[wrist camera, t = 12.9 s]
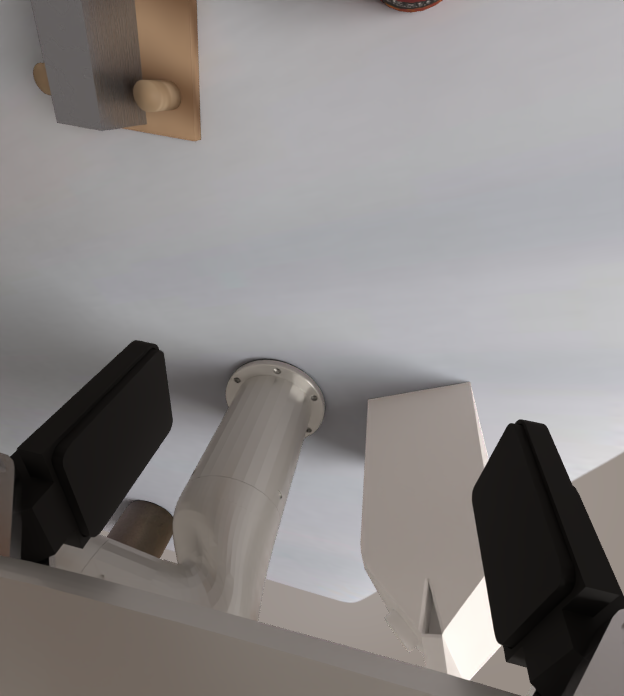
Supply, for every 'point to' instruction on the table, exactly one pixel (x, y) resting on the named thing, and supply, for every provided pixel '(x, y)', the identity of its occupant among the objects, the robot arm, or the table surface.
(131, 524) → the pillar candle
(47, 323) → the table surface
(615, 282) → the table surface
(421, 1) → the canned food
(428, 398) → the milk
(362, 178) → the table surface
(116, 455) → the robot arm
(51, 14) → the steel bar
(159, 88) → the rack
